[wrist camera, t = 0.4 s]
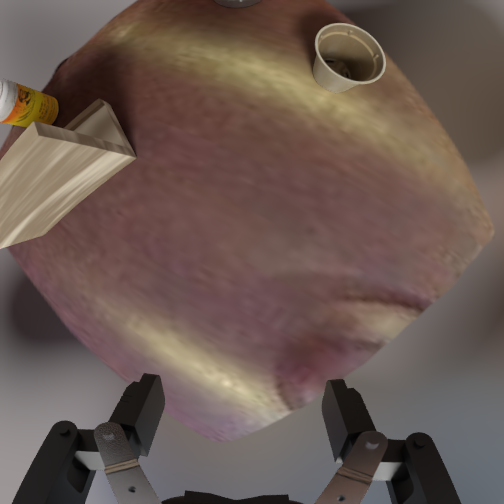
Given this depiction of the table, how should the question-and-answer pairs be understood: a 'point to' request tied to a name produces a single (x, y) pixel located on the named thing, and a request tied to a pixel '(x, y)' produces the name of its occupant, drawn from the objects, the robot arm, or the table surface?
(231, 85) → the table surface
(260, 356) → the table surface
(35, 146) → the wall board
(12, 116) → the beer can
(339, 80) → the flower pot
